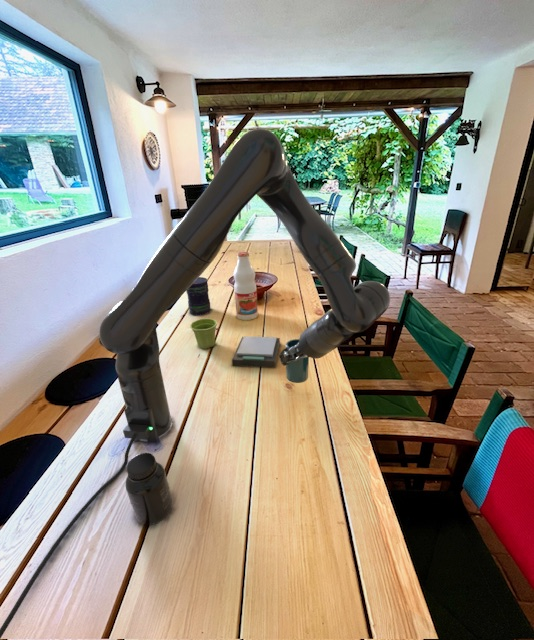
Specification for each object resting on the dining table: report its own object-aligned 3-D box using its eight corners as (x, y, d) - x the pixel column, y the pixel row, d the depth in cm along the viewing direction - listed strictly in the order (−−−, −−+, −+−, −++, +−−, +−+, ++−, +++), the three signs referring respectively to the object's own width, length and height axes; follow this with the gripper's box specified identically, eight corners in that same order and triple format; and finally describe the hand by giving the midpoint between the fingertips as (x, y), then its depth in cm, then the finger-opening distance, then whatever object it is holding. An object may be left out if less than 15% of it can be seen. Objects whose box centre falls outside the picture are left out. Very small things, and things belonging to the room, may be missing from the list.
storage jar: (213, 313, 146) (209, 281, 140) (191, 317, 143) (186, 285, 137) (208, 306, 154) (204, 276, 148) (187, 309, 151) (183, 279, 145)
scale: (274, 367, 103) (274, 359, 102) (232, 365, 105) (231, 357, 104) (279, 343, 118) (279, 335, 116) (242, 342, 120) (241, 334, 118)
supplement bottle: (159, 486, 65) (148, 441, 60) (180, 505, 61) (169, 459, 56) (128, 511, 61) (113, 465, 56) (148, 534, 57) (133, 487, 52)
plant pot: (214, 352, 114) (211, 330, 110) (189, 350, 116) (186, 328, 112) (222, 339, 122) (220, 319, 119) (199, 338, 124) (196, 317, 120)
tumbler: (307, 383, 85) (308, 350, 81) (285, 382, 86) (284, 349, 82) (308, 371, 90) (309, 339, 86) (287, 369, 91) (286, 338, 87)
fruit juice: (251, 310, 148) (247, 249, 136) (261, 317, 140) (258, 253, 129) (233, 315, 143) (227, 252, 132) (242, 322, 136) (237, 256, 124)
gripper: (339, 315, 77) (310, 339, 91) (288, 329, 71) (265, 352, 85) (353, 344, 75) (320, 364, 89) (301, 361, 69) (275, 379, 83)
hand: (293, 358), depth 87 cm, fingers closed on tumbler, 6 cm apart
